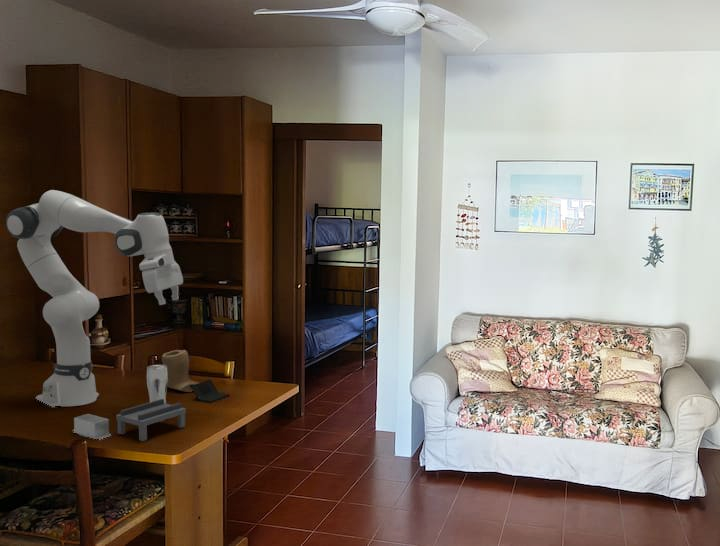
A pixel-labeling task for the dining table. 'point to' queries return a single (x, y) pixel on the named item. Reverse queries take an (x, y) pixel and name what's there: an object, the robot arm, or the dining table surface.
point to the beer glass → (157, 382)
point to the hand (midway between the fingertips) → (169, 302)
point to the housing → (91, 426)
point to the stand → (149, 416)
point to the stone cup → (178, 370)
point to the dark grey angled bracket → (207, 392)
